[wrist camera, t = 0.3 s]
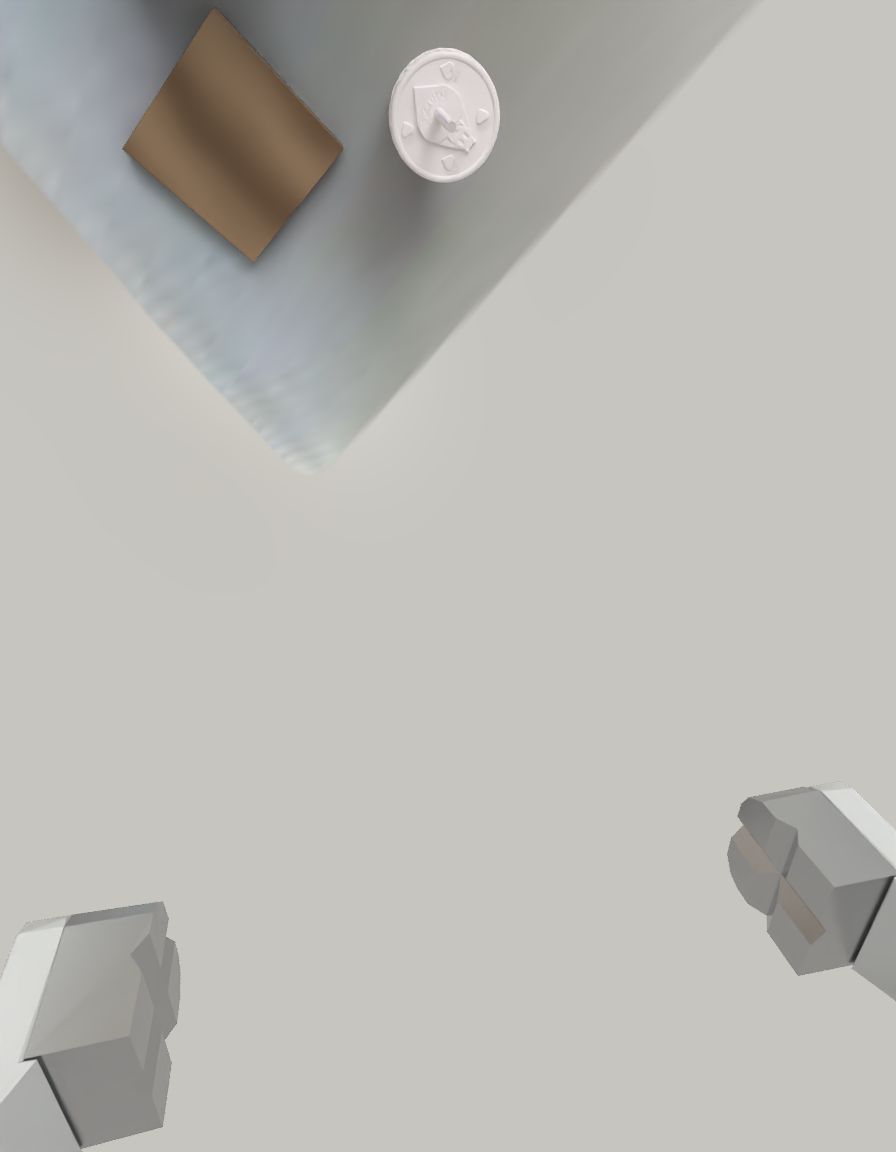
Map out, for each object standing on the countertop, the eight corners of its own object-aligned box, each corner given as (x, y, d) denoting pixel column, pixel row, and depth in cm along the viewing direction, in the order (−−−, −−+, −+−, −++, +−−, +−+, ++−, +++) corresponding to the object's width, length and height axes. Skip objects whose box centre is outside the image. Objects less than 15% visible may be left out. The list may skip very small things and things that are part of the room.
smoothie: (416, 7, 42) (453, 22, 32) (489, 88, 45) (544, 125, 35) (356, 102, 44) (373, 145, 34) (429, 172, 48) (464, 229, 38)
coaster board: (215, 6, 40) (212, 8, 39) (342, 144, 46) (343, 149, 45) (126, 144, 44) (122, 148, 43) (254, 255, 50) (253, 262, 49)
